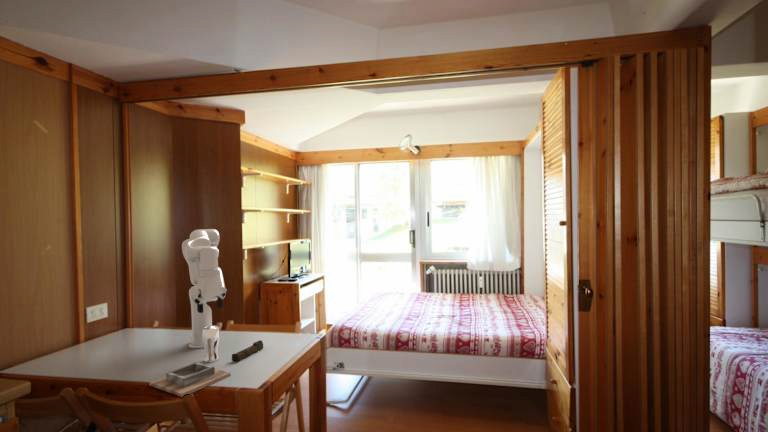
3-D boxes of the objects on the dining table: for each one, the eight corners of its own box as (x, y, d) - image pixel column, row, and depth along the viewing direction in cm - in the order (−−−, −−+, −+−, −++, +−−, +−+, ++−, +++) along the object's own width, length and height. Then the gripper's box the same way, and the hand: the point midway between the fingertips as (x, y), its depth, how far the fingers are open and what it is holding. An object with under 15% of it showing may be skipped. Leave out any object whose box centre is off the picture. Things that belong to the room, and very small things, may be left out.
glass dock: (149, 385, 139) (149, 374, 140) (197, 366, 157) (197, 357, 157) (182, 397, 129) (182, 385, 129) (230, 375, 146) (230, 365, 146)
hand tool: (237, 363, 160) (237, 352, 160) (231, 362, 162) (231, 351, 162) (267, 349, 177) (267, 339, 178) (261, 348, 179) (260, 339, 179)
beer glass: (203, 363, 160) (202, 330, 160) (203, 359, 166) (202, 326, 167) (220, 360, 163) (219, 327, 164) (219, 355, 170) (218, 324, 170)
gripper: (220, 270, 175) (221, 305, 175) (186, 275, 160) (187, 313, 159) (230, 271, 171) (231, 306, 171) (196, 276, 156) (197, 315, 156)
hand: (210, 310), depth 165 cm, fingers open, 9 cm apart
